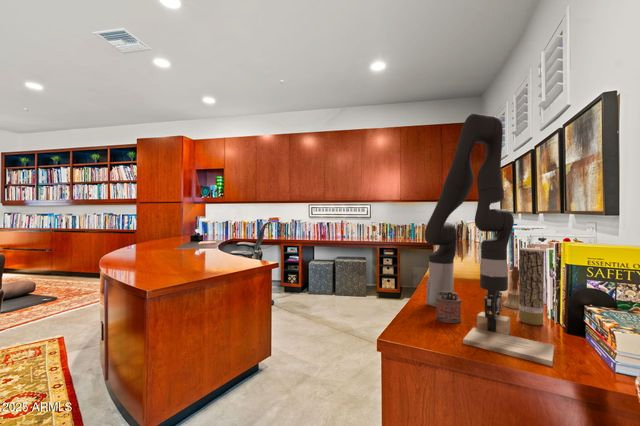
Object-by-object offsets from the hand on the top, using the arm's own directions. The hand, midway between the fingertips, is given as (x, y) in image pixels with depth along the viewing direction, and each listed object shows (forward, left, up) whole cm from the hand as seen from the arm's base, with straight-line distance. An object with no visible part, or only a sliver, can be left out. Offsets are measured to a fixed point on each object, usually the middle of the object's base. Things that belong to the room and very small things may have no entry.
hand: (493, 328), depth 95 cm
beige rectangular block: (0, 0, -1) cm, 1 cm away
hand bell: (+1, +38, -1) cm, 38 cm away
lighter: (-14, +2, -1) cm, 14 cm away
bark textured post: (+8, +19, -1) cm, 21 cm away
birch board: (+5, -9, -1) cm, 10 cm away
